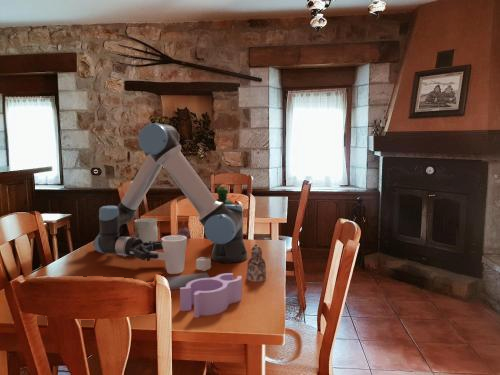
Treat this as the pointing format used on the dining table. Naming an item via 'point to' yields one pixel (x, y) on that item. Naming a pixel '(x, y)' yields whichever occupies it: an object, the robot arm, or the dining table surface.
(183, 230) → the vegetable
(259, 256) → the figurine
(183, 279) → the slate mat
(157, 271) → the dining table surface
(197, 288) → the clip
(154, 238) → the pitcher
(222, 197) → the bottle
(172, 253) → the foam cup
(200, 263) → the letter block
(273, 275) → the dining table surface
